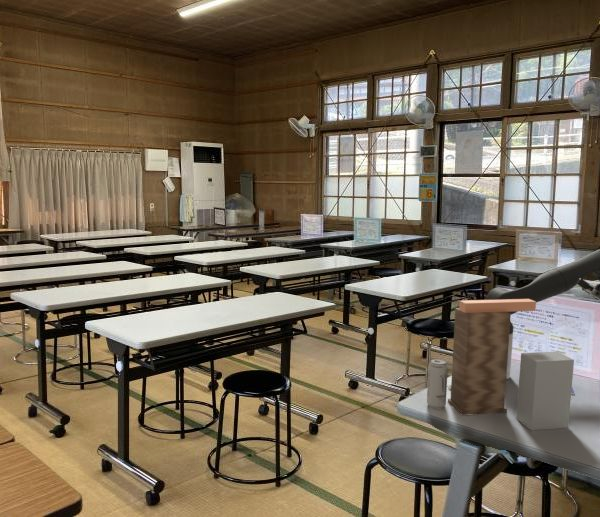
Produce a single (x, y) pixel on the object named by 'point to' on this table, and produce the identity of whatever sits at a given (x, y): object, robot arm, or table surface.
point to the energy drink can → (437, 384)
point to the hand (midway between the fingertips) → (587, 283)
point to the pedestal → (480, 362)
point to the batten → (497, 305)
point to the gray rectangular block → (545, 390)
